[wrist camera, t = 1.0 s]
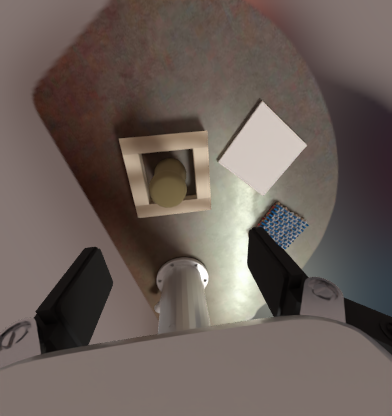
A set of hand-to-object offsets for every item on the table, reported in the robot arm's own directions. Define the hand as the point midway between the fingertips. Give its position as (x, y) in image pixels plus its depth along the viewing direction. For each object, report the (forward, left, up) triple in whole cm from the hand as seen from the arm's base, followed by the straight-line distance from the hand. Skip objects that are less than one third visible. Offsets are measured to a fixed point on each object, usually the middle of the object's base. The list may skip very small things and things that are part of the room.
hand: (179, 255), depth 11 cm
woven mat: (+2, -26, -24) cm, 36 cm away
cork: (-1, +1, -24) cm, 24 cm away
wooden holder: (-1, +1, -24) cm, 24 cm away
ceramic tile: (+12, -11, -24) cm, 29 cm away
